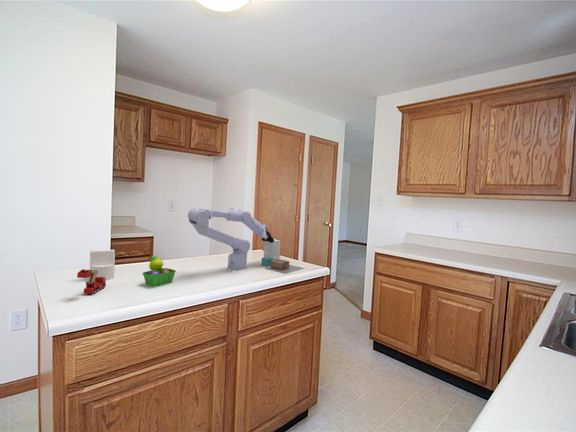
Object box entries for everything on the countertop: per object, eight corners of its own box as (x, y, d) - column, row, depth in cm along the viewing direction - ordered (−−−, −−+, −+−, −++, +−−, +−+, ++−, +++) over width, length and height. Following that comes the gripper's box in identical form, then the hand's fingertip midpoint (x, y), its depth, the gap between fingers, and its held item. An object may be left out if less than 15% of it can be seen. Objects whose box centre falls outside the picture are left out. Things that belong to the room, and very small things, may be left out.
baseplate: (285, 275, 151) (285, 273, 151) (263, 270, 159) (264, 268, 159) (305, 269, 165) (305, 268, 165) (285, 265, 174) (285, 263, 174)
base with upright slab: (88, 281, 125) (88, 253, 124) (91, 276, 133) (91, 249, 132) (113, 280, 129) (114, 252, 129) (114, 274, 137) (115, 248, 137)
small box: (279, 262, 180) (280, 240, 179) (271, 263, 176) (272, 241, 175) (271, 259, 186) (272, 238, 185) (263, 260, 182) (264, 239, 181)
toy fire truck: (106, 287, 120) (107, 262, 119) (86, 298, 106) (87, 271, 106) (97, 286, 120) (98, 262, 119) (76, 298, 106) (76, 271, 106)
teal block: (267, 268, 164) (267, 259, 164) (261, 266, 167) (261, 257, 167) (272, 267, 168) (273, 258, 167) (266, 265, 170) (267, 256, 170)
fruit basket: (152, 288, 121) (153, 260, 121) (139, 284, 126) (139, 257, 125) (176, 282, 131) (177, 256, 130) (163, 278, 136) (164, 253, 135)
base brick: (280, 270, 157) (281, 263, 157) (270, 268, 161) (270, 260, 161) (289, 268, 163) (289, 261, 162) (278, 266, 167) (279, 258, 166)
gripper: (264, 226, 159) (280, 239, 167) (255, 214, 170) (270, 227, 179) (255, 236, 159) (271, 248, 167) (246, 223, 171) (262, 235, 179)
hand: (270, 238), depth 173 cm, fingers open, 7 cm apart
